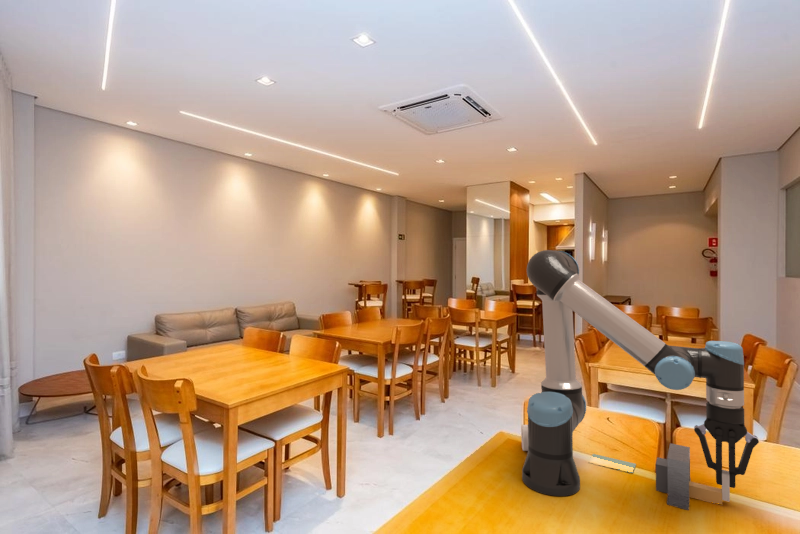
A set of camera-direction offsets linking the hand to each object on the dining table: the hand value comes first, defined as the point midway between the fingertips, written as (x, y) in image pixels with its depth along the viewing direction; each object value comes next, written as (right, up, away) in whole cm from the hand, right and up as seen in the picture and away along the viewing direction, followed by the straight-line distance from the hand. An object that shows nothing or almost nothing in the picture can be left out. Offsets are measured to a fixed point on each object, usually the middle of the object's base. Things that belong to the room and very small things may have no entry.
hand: (725, 498), depth 104 cm
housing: (-8, -2, +6) cm, 10 cm away
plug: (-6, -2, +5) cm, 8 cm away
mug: (-36, -2, +34) cm, 49 cm away
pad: (-17, -2, +22) cm, 28 cm away
